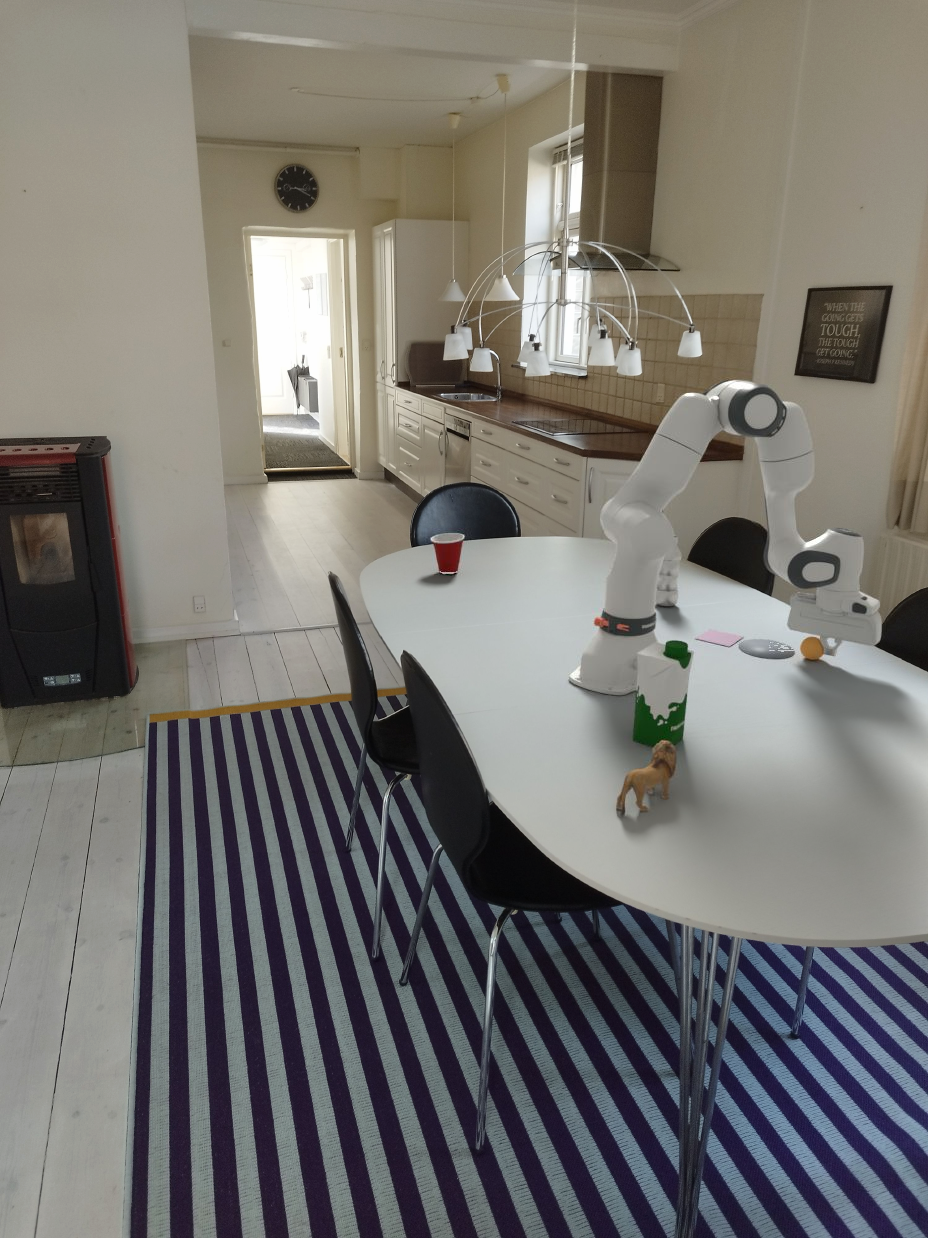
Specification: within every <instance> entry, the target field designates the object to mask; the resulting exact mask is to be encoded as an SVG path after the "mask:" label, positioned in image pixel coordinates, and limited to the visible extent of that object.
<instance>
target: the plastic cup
mask: <svg viewBox="0 0 928 1238" xmlns="http://www.w3.org/2000/svg"><path fill="white" fill-rule="evenodd" d="M464 540H465V534H462V533H457V532H448V533H440V534H436V535H434V536H432V537H430V541H431V543H432V546H433V547H434V548H433V549H434V552H435V558H436V563H437V567H438V572H439V571H441V572H456V571H457V572H458V571H459V564H460V561H461V554H462V548H463V543H464Z"/></svg>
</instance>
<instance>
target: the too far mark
mask: <svg viewBox="0 0 928 1238" xmlns="http://www.w3.org/2000/svg"><path fill="white" fill-rule="evenodd" d="M743 637H744V636H742V635H738V634H735V633H734V634H733V633H728V632H724V631H719V630H716V629H712V628H710V629H708V630H707V631H704V632H703V633H702V634H700V635H698V636H697V637H695V638H694V640H697V641H698V640H699V641H701V642H706V643H710V644H714V645H718V646H722V645H724V647H728V648H730V647H732V646H733V645H735V644H736V643H738V642H739V641H741V640H742V639H743ZM737 641H738V642H737ZM731 645H732V646H731Z"/></svg>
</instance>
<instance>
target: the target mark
mask: <svg viewBox="0 0 928 1238" xmlns="http://www.w3.org/2000/svg"><path fill="white" fill-rule="evenodd" d="M770 642H771V643H770ZM772 642H773V643H772ZM780 642H781V641H776V640H771V639H765V638H764V639H762V638H757V639H756V638H752V639H746V640H742V641H740V642H739V643H738V646H739V647H738V648H739V650H740V651H741V652H743V653H745V654H746V655H747V654H748V655H749V656H753V657H755V658H756V657H757V658H760V659H768V660H769V658H773V660H775V659H774V658H782V659H788V658H790V656H791V657H792V656H794V655H795V650H794V648H793V647H792V646H790V645H788V644H786V643H784V642H781V643H780ZM777 643H779V644H777ZM769 645H770V646H769ZM774 645H778V646H774ZM781 645H787V646H784V647H788V648H789V649H783V648H780V647H781ZM769 647H771V648H769ZM778 648H780V649H778ZM791 648H793V649H791ZM769 650H775V651H769ZM778 650H794V651H784V652H781V651H778ZM793 654H794V655H793ZM787 657H788V658H787Z"/></svg>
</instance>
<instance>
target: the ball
mask: <svg viewBox="0 0 928 1238" xmlns="http://www.w3.org/2000/svg"><path fill="white" fill-rule="evenodd" d="M799 648H800V653H801V655H802V656H803V657H804V658H806V659H807V660H811V661H813V660H818V659H820V658H822V657H823V656H824V654H823V650H824V647H823V646H822V644H821V642H820V637H817V636H808V637H806V638H804V639H803V640H802V641H801V643H800V646H799Z"/></svg>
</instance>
